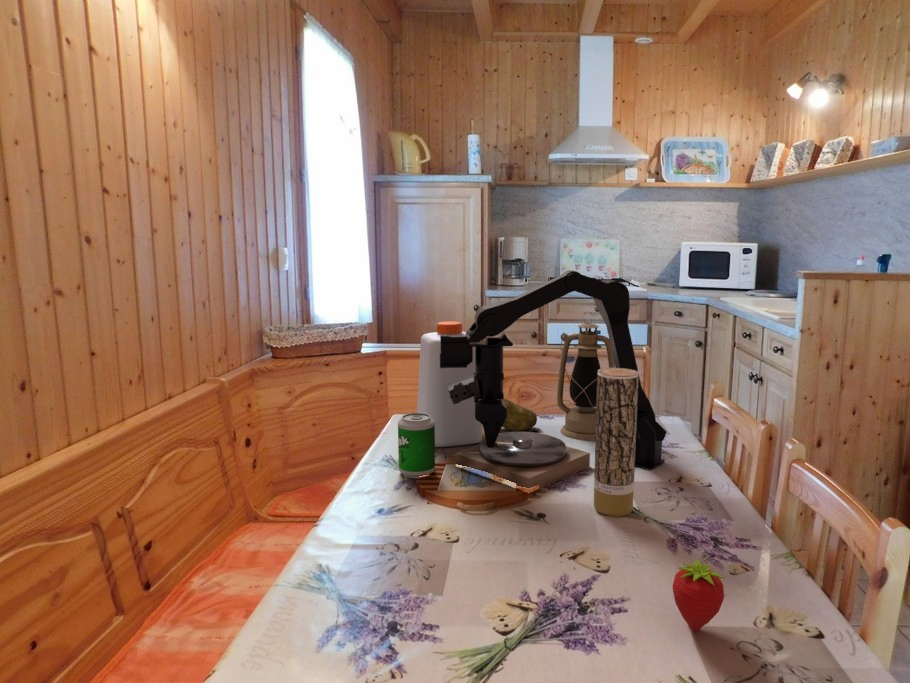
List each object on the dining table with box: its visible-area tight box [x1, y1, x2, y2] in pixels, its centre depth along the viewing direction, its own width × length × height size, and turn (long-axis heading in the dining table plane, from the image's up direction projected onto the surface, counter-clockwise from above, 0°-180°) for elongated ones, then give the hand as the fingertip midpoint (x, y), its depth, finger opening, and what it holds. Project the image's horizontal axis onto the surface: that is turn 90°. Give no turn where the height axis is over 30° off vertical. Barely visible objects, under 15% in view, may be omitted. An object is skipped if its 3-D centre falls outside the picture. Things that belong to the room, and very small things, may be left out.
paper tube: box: [593, 367, 640, 517], centre depth 110 cm, size 7×7×25 cm
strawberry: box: [672, 556, 726, 632], centre depth 77 cm, size 6×8×10 cm
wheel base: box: [454, 444, 591, 490], centre depth 133 cm, size 20×20×3 cm
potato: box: [502, 397, 538, 432], centre depth 158 cm, size 8×13×8 cm, turn 74°
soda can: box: [397, 412, 436, 479], centre depth 129 cm, size 8×8×12 cm
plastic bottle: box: [416, 320, 482, 448], centre depth 151 cm, size 15×15×28 cm
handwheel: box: [479, 425, 567, 467], centre depth 132 cm, size 18×18×6 cm
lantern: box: [556, 311, 616, 441], centre depth 154 cm, size 14×12×30 cm
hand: (489, 440), depth 132 cm, fingers open, 9 cm apart
